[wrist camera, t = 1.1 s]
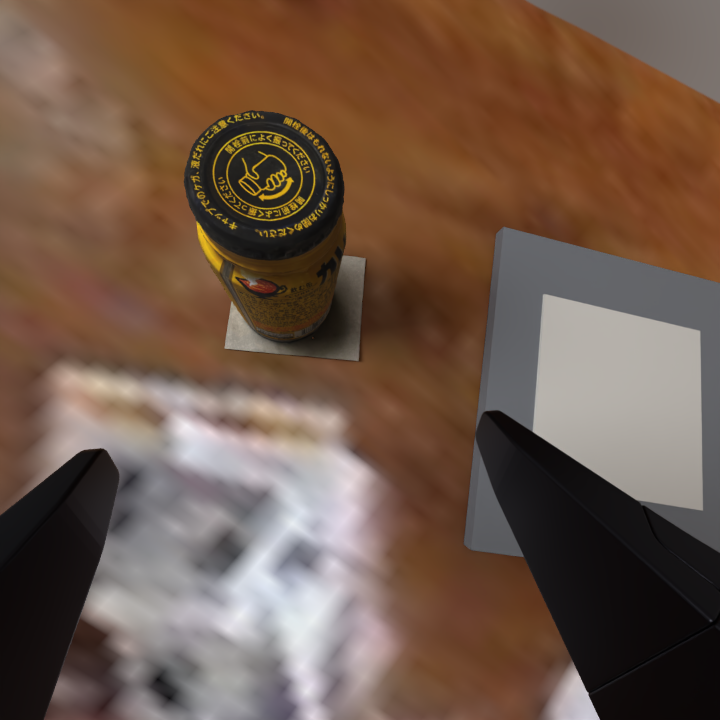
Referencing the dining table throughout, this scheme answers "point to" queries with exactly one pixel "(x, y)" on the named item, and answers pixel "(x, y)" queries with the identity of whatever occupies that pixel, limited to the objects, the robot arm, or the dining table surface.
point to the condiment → (277, 235)
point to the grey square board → (604, 378)
